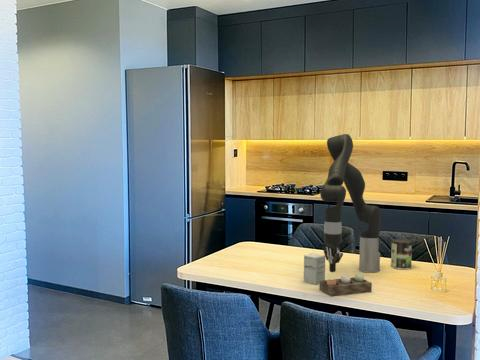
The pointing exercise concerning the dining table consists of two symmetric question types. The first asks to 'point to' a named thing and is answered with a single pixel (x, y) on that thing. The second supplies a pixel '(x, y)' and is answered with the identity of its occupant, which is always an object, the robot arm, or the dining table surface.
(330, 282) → the terracotta button
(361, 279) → the sage button
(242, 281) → the dining table surface
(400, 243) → the coffee can
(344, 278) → the cream pill shape
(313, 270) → the supplement box
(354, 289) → the frame
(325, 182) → the robot arm
